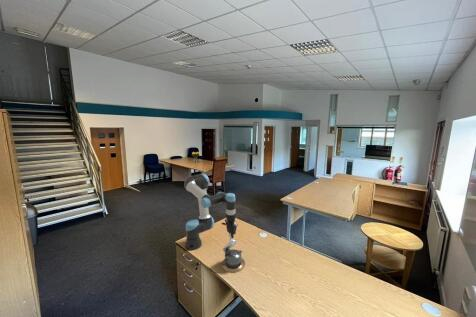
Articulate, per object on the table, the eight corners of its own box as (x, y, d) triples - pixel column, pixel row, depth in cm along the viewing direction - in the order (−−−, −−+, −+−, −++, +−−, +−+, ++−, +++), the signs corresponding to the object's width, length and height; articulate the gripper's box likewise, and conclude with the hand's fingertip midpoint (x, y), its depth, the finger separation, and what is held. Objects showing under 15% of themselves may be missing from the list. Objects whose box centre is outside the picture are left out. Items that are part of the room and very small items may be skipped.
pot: (216, 263, 169) (216, 254, 167) (234, 253, 181) (234, 244, 180) (231, 276, 155) (231, 266, 153) (250, 264, 167) (249, 254, 166)
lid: (220, 254, 167) (219, 251, 168) (233, 246, 176) (232, 244, 177) (226, 245, 159) (225, 242, 160) (240, 238, 168) (238, 235, 169)
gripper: (221, 212, 163) (222, 239, 168) (232, 217, 154) (233, 246, 158) (229, 209, 168) (229, 236, 173) (240, 214, 159) (240, 242, 163)
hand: (231, 241), depth 165 cm, fingers closed
